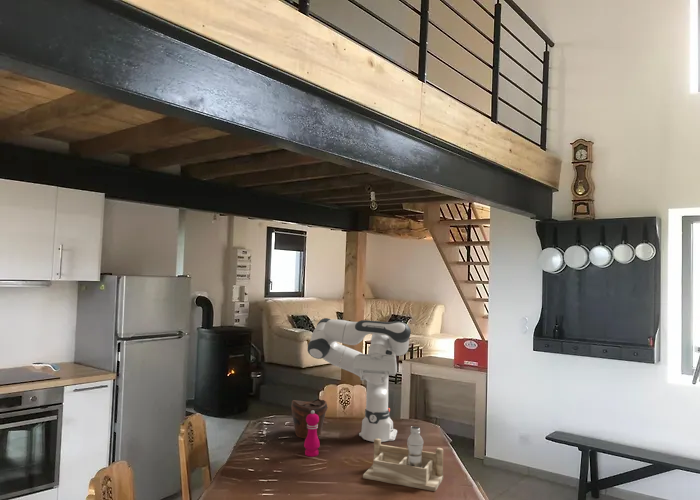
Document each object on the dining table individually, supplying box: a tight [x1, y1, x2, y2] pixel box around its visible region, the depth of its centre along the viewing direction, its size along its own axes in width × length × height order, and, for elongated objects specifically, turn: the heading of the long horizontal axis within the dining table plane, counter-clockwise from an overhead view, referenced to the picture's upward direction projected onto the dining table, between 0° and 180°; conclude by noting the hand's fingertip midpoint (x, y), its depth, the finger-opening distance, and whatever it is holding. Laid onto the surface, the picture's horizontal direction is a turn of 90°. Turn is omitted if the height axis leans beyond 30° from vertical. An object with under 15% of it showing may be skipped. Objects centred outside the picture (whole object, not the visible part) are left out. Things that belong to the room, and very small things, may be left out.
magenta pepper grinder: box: [303, 410, 321, 457], centre depth 246 cm, size 7×7×20 cm
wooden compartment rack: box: [362, 439, 444, 492], centre depth 221 cm, size 14×30×12 cm, turn 68°
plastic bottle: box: [406, 426, 424, 468], centre depth 217 cm, size 6×7×20 cm
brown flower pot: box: [290, 398, 328, 439], centre depth 274 cm, size 18×20×18 cm
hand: (372, 380), depth 240 cm, fingers open, 8 cm apart
